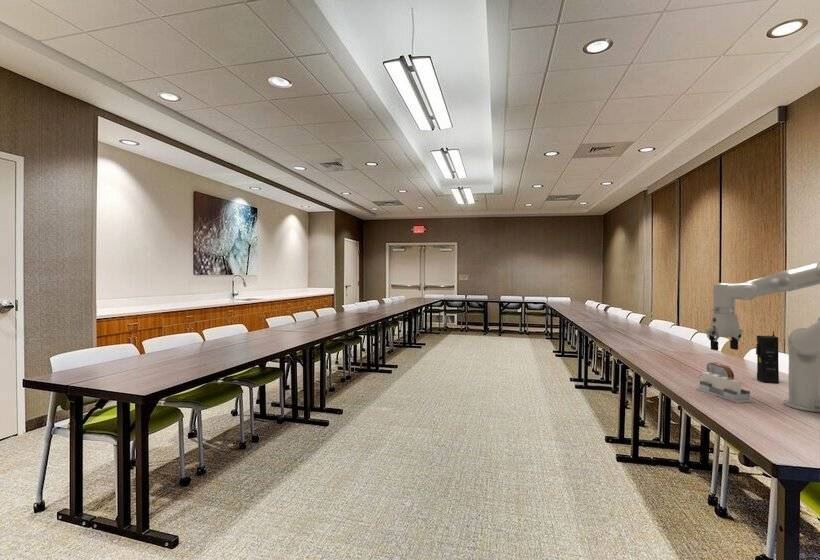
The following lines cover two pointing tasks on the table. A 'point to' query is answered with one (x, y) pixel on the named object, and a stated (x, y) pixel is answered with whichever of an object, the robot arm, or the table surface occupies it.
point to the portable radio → (767, 359)
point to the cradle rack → (726, 393)
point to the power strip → (721, 381)
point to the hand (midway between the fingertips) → (724, 349)
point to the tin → (720, 370)
